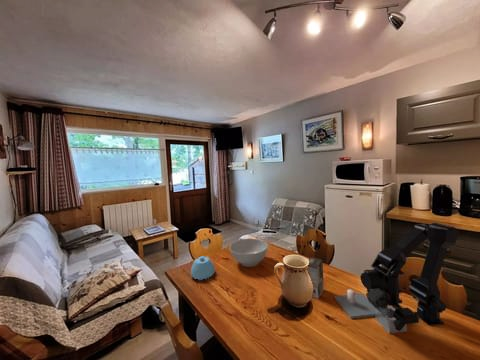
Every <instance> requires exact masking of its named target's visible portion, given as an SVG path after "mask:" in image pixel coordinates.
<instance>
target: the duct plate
mask: <svg viewBox="0 0 480 360" xmlns="http://www.w3.org/2000/svg"><path fill="white" fill-rule="evenodd" d="M346 293H347V294H344V295H335V296H334V299H335V301H336V303H338V304H339V305H340V307H341V308H342V309H343V311H344V312H345V313H346V314H347V316H348V317H349V318H350V319H351V320H352V319H360V318H371V317H375V307H374V306H373V305H372V304H371V303H370V302H369V301H368V298H367V296H366V294H364V293H356V291H355V290H353V289H347V291H346Z"/></svg>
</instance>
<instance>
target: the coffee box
mask: <svg viewBox="0 0 480 360" xmlns="http://www.w3.org/2000/svg"><path fill="white" fill-rule="evenodd" d="M308 260H309V265H308V268H307V271H308V274H309V276H310V278H311V281H312V284H313V296H311V297H312V298H315V299H319V298H320V297H321V294H323V291H324V289H325V285H324V265H323V263H324V262H323V259H319V258H317V257H312V256H311V257H309V258H308Z"/></svg>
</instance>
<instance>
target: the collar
mask: <svg viewBox="0 0 480 360" xmlns="http://www.w3.org/2000/svg"><path fill="white" fill-rule="evenodd" d="M395 310H396V309H394V308H393V307H392V306H387V307H385V308H383V309H382V308H380V307H379V308H375V316H374V317H375V320H376V321H377V322H378V324H379V325H380V326H381V327H382V328H383V329H384V330H385V331H386V332H387V333H388V334H395V333H403V332H404V333H405V332H407V331H408V330H407V327H408V326H407V325H408V324H405V325H404V327H403V328H402V329H401V330H400V331H398V330H397V328H396V319H395V318H394V317H393V316H392V315H394V311H395Z"/></svg>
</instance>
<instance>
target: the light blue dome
mask: <svg viewBox="0 0 480 360" xmlns="http://www.w3.org/2000/svg"><path fill="white" fill-rule="evenodd" d="M215 271H216V268H215V265H214V263H213V261H212V260H211V259H210V257H207V256H204V255H202V256H199V257H198V258H196V259H195V260H194V261H193V263H192V265H191V268H190V276H191V277H192V278H193V279H195V280H196V279H198V280H197V281H204V280H203V279H205V280H208V279H210V278H211V277H212V276H213V275H214V273H216V272H215ZM209 277H210V278H209ZM207 278H208V279H207Z"/></svg>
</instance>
